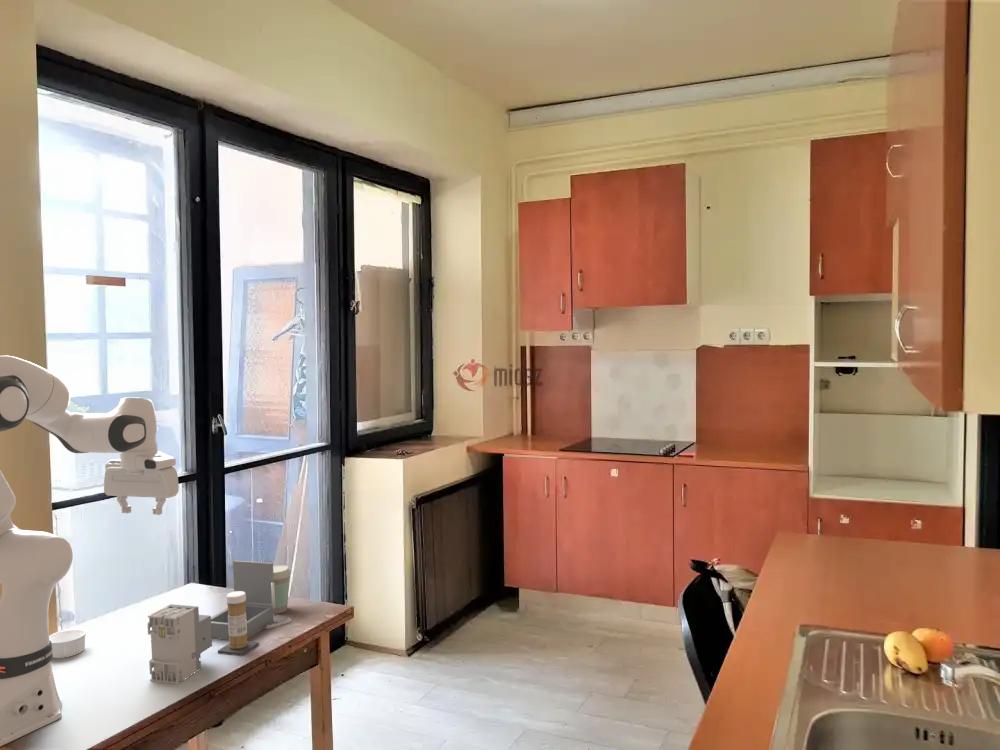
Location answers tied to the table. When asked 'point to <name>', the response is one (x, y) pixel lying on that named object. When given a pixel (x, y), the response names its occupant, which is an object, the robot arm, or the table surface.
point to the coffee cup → (281, 587)
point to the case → (250, 598)
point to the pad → (238, 651)
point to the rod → (277, 623)
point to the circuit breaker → (177, 642)
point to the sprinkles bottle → (237, 619)
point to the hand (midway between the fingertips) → (142, 513)
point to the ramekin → (67, 643)
